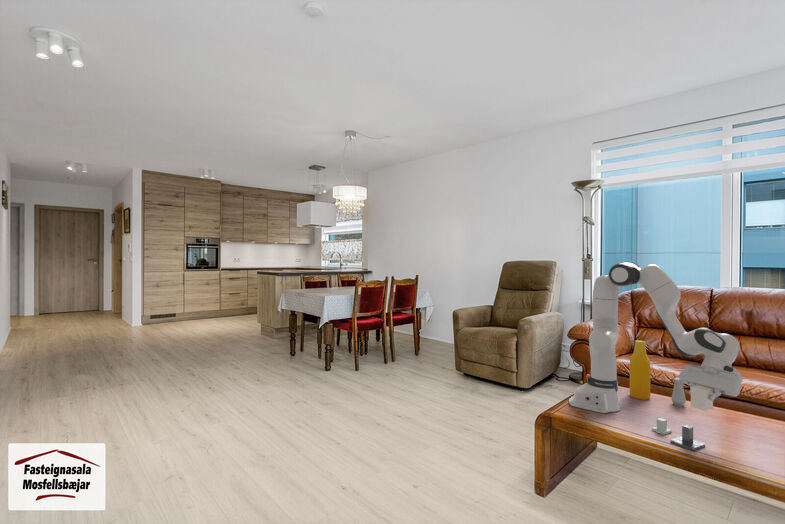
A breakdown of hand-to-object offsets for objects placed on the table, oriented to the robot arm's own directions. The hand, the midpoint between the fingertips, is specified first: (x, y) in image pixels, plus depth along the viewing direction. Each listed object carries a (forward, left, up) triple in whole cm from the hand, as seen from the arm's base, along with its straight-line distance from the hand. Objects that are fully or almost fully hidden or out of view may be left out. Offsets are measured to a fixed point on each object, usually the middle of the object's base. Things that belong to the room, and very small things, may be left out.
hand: (700, 396), depth 159 cm
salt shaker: (-3, +41, -17) cm, 44 cm away
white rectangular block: (0, +1, -4) cm, 4 cm away
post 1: (-13, +2, -17) cm, 21 cm away
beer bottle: (-19, +45, -17) cm, 51 cm away
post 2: (-5, -7, -17) cm, 19 cm away
